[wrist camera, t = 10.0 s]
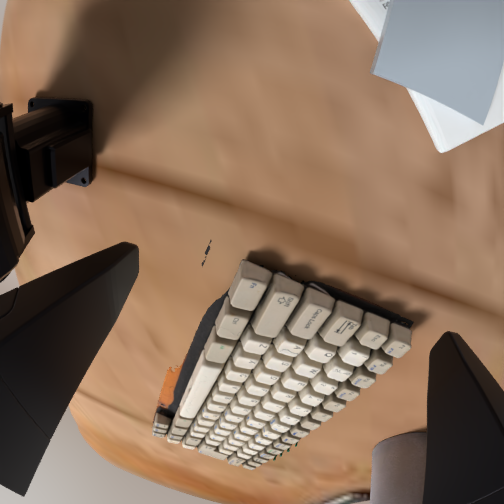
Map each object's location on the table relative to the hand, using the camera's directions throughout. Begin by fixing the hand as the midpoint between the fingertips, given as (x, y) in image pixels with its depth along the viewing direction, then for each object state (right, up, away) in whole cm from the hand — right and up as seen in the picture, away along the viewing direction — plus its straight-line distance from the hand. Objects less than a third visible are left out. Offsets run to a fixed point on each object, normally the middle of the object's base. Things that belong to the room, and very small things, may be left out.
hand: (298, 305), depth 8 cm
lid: (+9, +14, +3) cm, 17 cm away
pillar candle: (+20, -25, +27) cm, 42 cm away
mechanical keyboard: (-2, -14, +26) cm, 30 cm away
